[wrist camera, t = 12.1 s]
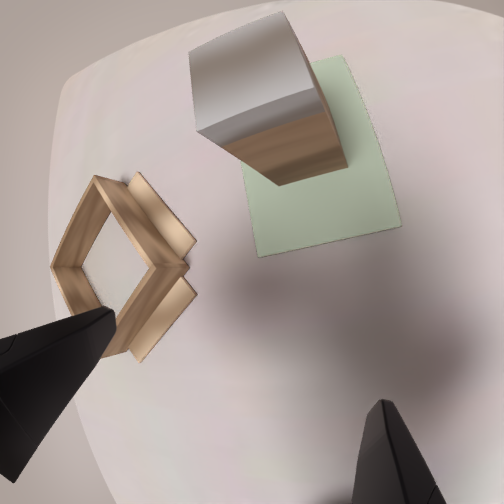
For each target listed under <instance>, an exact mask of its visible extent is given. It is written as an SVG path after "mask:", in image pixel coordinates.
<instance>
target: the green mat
mask: <svg viewBox="0 0 504 504" xmlns="http://www.w3.org/2000/svg"><path fill="white" fill-rule="evenodd" d="M310 65H311V67H312V69H313V71H314V73H315V76H316V78H317V80H318V82H319V85H320V87H321V89H322V91H323V94H324V96H325V98H326V101H327V103H328V106H329V108H330V111H331V114H332V117H333V120H334V123H335V126H336V129H337V132H338V135H339V138H340V142H341V145H342V148H343V151H344V155H345V158H346V162H347V165H348V168H345V169H341V170H337V171H333V172H330V173H326V174H322V175H318V176H315V177H311V178H307V179H304V180H300V181H297V182H293V183H290V184H286V185H283V186H277V185H276V184H275V183H273V182H272V181H270V180H269V179H267V178H266V177H265V176H263V175H262V174H260V173H259V172H257V171H256V170H254V169H253V168H251V167H250V166H248V165H247V164H246V163H244V162H243V161H241V166H242V171H243V177H244V183H245V188H246V194H247V199H248V205H249V211H250V216H251V222H252V228H253V233H254V239H255V245H256V250H257V256H258V258H261V257H266V256H270V255H275V254H279V253H284V252H289V251H293V250H298V249H302V248H307V247H312V246H316V245H321V244H325V243H330V242H334V241H339V240H343V239H348V238H353V237H357V236H362V235H366V234H371V233H375V232H379V231H384V230H388V229H393V228H397V227H401V226H402V224H401V220H400V216H399V212H398V208H397V204H396V200H395V196H394V193H393V189H392V185H391V182H390V178H389V175H388V172H387V168H386V165H385V162H384V159H383V156H382V153H381V150H380V147H379V144H378V141H377V138H376V135H375V132H374V129H373V127H372V124H371V121H370V119H369V116H368V113H367V111H366V108H365V106H364V103H363V101H362V98H361V96H360V94H359V91H358V89H357V86H356V84H355V82H354V80H353V77H352V75H351V73H350V71H349V69H348V66H347V64H346V62H345V60H344V58H343V56H342V55H338V56H334V57H330V58H327V59H323V60H320V61H316V62H313V63H310Z"/></svg>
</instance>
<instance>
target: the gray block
mask: <svg viewBox="0 0 504 504" xmlns="http://www.w3.org/2000/svg"><path fill="white" fill-rule="evenodd" d="M189 63H190V74H191V84H192V94H193V104H194V113H195V122H196V131H197V132H198V133H199V134H201V135H203V136H204V137H206V138H207V139H209V140H210V141H212V142H214V143H215V144H217V145H218V146H220V147H221V148H223V149H224V150H226V151H227V152H229V153H231V154H232V155H234V156H235V157H237V158H238V159H240V160H241V161H243V162H244V163H246V164H247V165H248V166H250V167H251V168H253V169H254V170H256V171H257V172H259V173H260V174H262V175H263V176H265V177H266V178H267V179H269V180H270V181H272V182H273V183H275V184H276V185H277V186H283V185H286V184H290V183H293V182H297V181H300V180H304V179H307V178H311V177H315V176H318V175H322V174H326V173H330V172H333V171H337V170H341V169H345V168H348V165H347V162H346V158H345V155H344V151H343V148H342V145H341V142H340V138H339V135H338V132H337V129H336V126H335V123H334V120H333V117H332V114H331V111H330V108H329V106H328V103H327V101H326V98H325V96H324V94H323V91H322V89H321V87H320V85H319V82H318V80H317V78H316V76H315V73H314V71H313V69H312V67H311V65H310V63H309V61H308V58H307V56H306V54H305V52H304V50H303V48H302V46H301V44H300V42H299V40H298V38H297V36H296V35H295V33H294V31H293V29H292V27H291V25H290V23H289V21H288V20H287V18H286V16H285V14H284V12H283V11H281V12H278V13H275V14H272V15H269V16H267V17H264V18H261V19H259V20H256V21H254V22H251V23H249V24H246V25H244V26H242V27H239V28H237V29H235V30H232V31H230V32H228V33H226V34H224V35H222V36H219V37H217V38H215V39H213V40H211V41H209V42H207V43H205V44H203V45H201V46H199V47H197V48H195V49H194V50H192V51H190V52H189Z"/></svg>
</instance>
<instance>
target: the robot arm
mask: <svg viewBox="0 0 504 504" xmlns="http://www.w3.org/2000/svg"><path fill="white" fill-rule="evenodd" d="M116 330H117V326H116V318H115V312H114V310H112V309H110V308H108V307H106V306H101V307H98V308H95V309H92V310H89V311H86V312H83V313H80V314H77V315H74V316H71V317H68V318H64V319H61V320H58V321H55V322H52V323H49V324H46V325H43V326H40V327H37V328H34V329H31V330H28V331H25V332H22V333H18V334H15V335H12V336H9V337H6V338H2V339H0V474H1V475H3V476H4V477H5V478H7V479H8V480H9V481H11V482H12V483H15V482H16V480H17V479H18V477H19V475H20V474H21V472H22V471H23V469H24V468H25V466H26V464H27V463H28V461H29V460H30V458H31V457H32V455H33V454H34V452H35V451H36V449H37V447H38V446H39V445H40V443H41V441H42V440H43V439H44V437H45V436H46V434H47V433H48V431H49V430H50V428H51V427H52V425H53V424H54V423H55V421H56V420H57V418H58V417H59V415H60V414H61V413H62V411H63V410H64V409H65V407H66V406H67V404H68V403H69V401H70V400H71V399H72V397H73V396H74V395H75V393H76V392H77V391H78V389H79V388H80V387H81V385H82V384H83V382H84V381H85V380H86V378H87V377H88V376H89V374H90V373H91V372H92V370H93V369H94V368H95V366H96V365H97V363H98V362H99V360H100V358H101V356H102V355H103V353H104V351H105V350H106V348H107V346H108V345H109V343H110V342H111V340H112V338H113V337H114V335H115V333H116ZM351 504H447V503H446V501H445V499H444V498H443V496H442V494H441V492H440V490H439V488H438V486H437V485H436V482H435V480H434V478H433V476H432V474H431V472H430V470H429V468H428V466H427V464H426V462H425V460H424V458H423V456H422V455H421V453H420V451H419V449H418V447H417V445H416V443H415V441H414V439H413V438H412V436H411V434H410V432H409V430H408V428H407V427H406V425H405V423H404V421H403V419H402V417H401V416H400V414H399V412H398V410H397V408H396V407H395V405H394V403H393V402H392V401H390V400H385V399H381V400H379V401H378V402H377V403H376V404H375V406H374V407H373V408H372V409H371V411H370V412H369V413H368V415H367V418H366V422H365V427H364V432H363V437H362V442H361V446H360V451H359V455H358V461H357V468H356V476H355V483H354V490H353V496H352V502H351Z"/></svg>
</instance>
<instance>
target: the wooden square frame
mask: <svg viewBox="0 0 504 504" xmlns="http://www.w3.org/2000/svg"><path fill="white" fill-rule="evenodd" d="M110 212H112V213H113V215H114V216H115V218H116V220H117V221H118V223H119V224H120V226H121V227H122V229H123V230H124V232H125V233H126V235H127V237H128V238H129V240H130V241H131V243H132V244H133V245H134V247H135V248H136V250H137V251H138V253H139V254H140V256H141V257H142V259H143V260H144V262H145V263H146V264H147V266H148V267H149V269H148V271H147V272H146V274H145V275H144V277H143V278H142V280H141V281H140V283H139V284H138V286H137V287H136V289H135V290H134V292H133V293H132V295H131V296H130V298H129V299H128V301H127V302H126V304H125V305H124V307H123V308H122V310H121V311H120V313H119V315H118V316H117V318H116V326H117V330H116V333H115V335H114V337H113V338H112V340H111V342H110V343H109V345H108V346H107V348H106V350H105V351H104V353H103V355H102V356H101V358H105V357H109V356H112V355H116V354H120V353H123V352H126V351H127V350H128V348H129V349H130V351H131V352H132V354H133V355H134V357H135V358H136V360H137V361H138V363H141V362H142V361H143V360H144V358H145V357H146V356H147V355H148V353H149V352H150V351H151V350H152V349H153V347H154V346H155V345H156V344H157V343H158V341H159V340H160V339H161V338H162V336H163V335H164V334H165V333H166V332H167V330H168V329H169V328H170V327H171V326H172V324H173V323H174V322H175V321H176V320H177V318H178V317H179V316H180V315H181V314H182V312H183V311H184V310H185V309H186V308H187V306H188V305H189V304H190V303H191V302H192V300H193V299H194V298H195V297H196V296H197V294H196V292H195V291H194V290H193V289H192V287H191V286H190V285H189V284H188V282H187V281H186V280H185V279H184V277H183V276H184V275H185V273H186V272H187V271H188V269H189V266H188V265H187V264H186V263H185V261H184V260H183V258H184V257H185V256H186V254H187V253H188V252H189V250H190V249H191V248H192V247H193V245H194V244H195V243H196V240H195V239H194V237H193V236H192V235H191V234H190V233H189V232H188V230H187V229H186V228H185V227H184V226H183V224H182V223H181V222H180V221H179V220H178V219H177V217H176V216H175V215H174V214H173V213H172V211H171V210H170V209H169V208H168V207H167V205H166V204H165V203H164V202H163V201H162V199H161V198H160V197H159V196H158V195H157V193H156V192H155V191H154V190H153V189H152V187H151V186H150V185H149V184H148V182H147V181H146V180H145V179H144V178H143V176H142V175H141V174H140V173H139V172H136V174H135V175H134V177H133V178H132V180H131V182H130V183H129V185H128V186H126V184H125V183H123V182H119V181H115V180H112V179H108V178H104V177H101V176H97V175H94V176H93V178H92V180H91V181H90V183H89V185H88V187H87V189H86V191H85V192H84V194H83V196H82V198H81V200H80V202H79V204H78V206H77V208H76V210H75V212H74V214H73V216H72V218H71V220H70V222H69V224H68V226H67V228H66V231H65V233H64V235H63V237H62V240H61V242H60V244H59V246H58V249H57V251H56V253H55V256H54V258H53V261H52V263H51V266H50V268H51V271H52V273H53V275H54V278H55V280H56V283H57V285H58V287H59V289H60V292H61V294H62V296H63V298H64V300H65V303H66V305H67V307H68V309H69V311H70V313H71V315H72V316H74V315H77V314H80V313H83V312H86V311H89V310H92V309H95V308H98V307H101V304H100V302H99V301H98V299H97V297H96V295H95V293H94V292H93V290H92V288H91V286H90V284H89V282H88V280H87V278H86V276H85V275H84V273H83V271H82V269H81V266H82V264H83V262H84V260H85V258H86V256H87V254H88V252H89V250H90V248H91V246H92V244H93V242H94V240H95V239H96V237H97V235H98V233H99V231H100V229H101V228H102V226H103V224H104V222H105V221H106V219H107V217H108V215H109V214H110ZM101 358H100V359H101Z"/></svg>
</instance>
